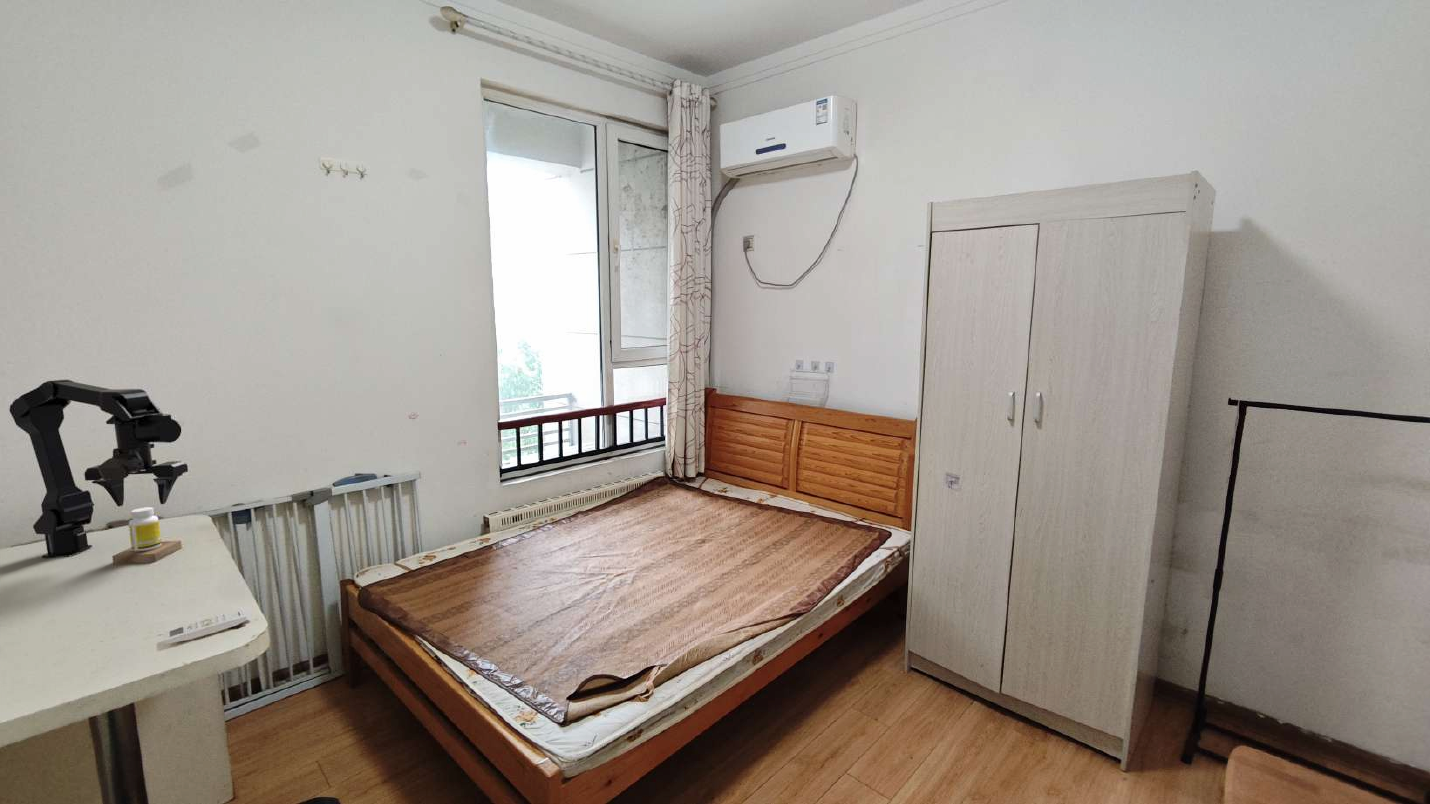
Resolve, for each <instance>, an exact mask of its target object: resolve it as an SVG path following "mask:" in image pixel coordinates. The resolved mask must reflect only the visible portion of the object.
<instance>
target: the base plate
mask: <svg viewBox="0 0 1430 804" xmlns="http://www.w3.org/2000/svg"><path fill="white" fill-rule="evenodd" d="M180 549H182V540H170V541H169V540H167V541H161V546H160V547H158V548H155V549H152V550H147V551H133V550H132V546H130V547H128V548H126V549H125V550H122V551H120V552H118V553H116V554H114V555H112V564H113V565H120V564H121V565H123V564H135V563H137V564H140V563H153V562H154V563H155V562H157V561H160V560H162V559H164V558H166V557H167V556H169V555H172V554H173V553H175V552H177V551H178V550H180ZM159 559H160V560H159Z"/></svg>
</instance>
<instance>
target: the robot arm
mask: <svg viewBox="0 0 1430 804" xmlns="http://www.w3.org/2000/svg"><path fill="white" fill-rule="evenodd" d="M72 402H78V403H81V404H87V405H92V406H95V407H99V409H100V411H101V412H103V413H106V414H109V415H112V416H111V417H110V418H108V419H107V420H106V421H105V423H106V425H114V431H115V439H116V448H113V449H112V450H113V451H112V457H110V458H108V459H107V460H105V461H104V462H102V463H101V464H98V465H95V466H91V467H87V469H86V470H85V471H84V473H83V475H84V480H85V481H86V482H87V481H91V483H92V484H95V485H99V486H101V487H102V488H104V489H105V491H106V492H108V494H109V495H110V497H111V498H112V500H113V502H114V503H115V504H116V506H117V507H123V506H124V500H125V490H124V489H125V479H126V478H128V477H129V475H149V474H150V475H151V474H153V475H154V476H155V477H156V478H153V479H152V480H153V482H155V483H156V485H157V493H158V499H159V500H158V501H159V503H160V505H164V504H166V502H167V501H168V499H169V496H170V494H171V492H172V489H173V488H174V485H175V483H176V481H177V479H178V478H179V477H180V476H181V477H182V476H183V474H185V473H187V472H189V469H188V464H187V463H186V462H185V461H184V460H179V461H178V460H174V461H173V460H171V461H166V462H162V463H160V464H158V463H157V459H152V458H153V456H152V450H151V449H154V448H155V443H159V444H160V443H162V444H163V443H164V444H165V443H166V444H167V443H174V442H176V441H177V440H178V439H179V438H180V437H181V435H182V427H181V425H180V424H179V422H178V421H176V420H175V419H173V418H172V415H171V413H163V412H162V411H161V408H159V407H158V405H156V403H155V402H154V401H153V399H152V398H151V397H150V396H149V395H148V394H147V391H145V390H143V389H142V388H125V389H124V388H121V389H120V388H119V389H115V388H114V389H111V388H106V387H102V386H101V387H100V386H95V385H93V384H92V385H90V384H85V383H80V382H77V381H73V380H71V379H70V380H69V379H58V380H47V381H45V382H43V383H42V384H41V385H39V386H38V387H36V388H34V389H32V390H30V391H27V392H26V393H24V394H22V395H20V396H19V397H18V398H16V399H14V400H13V402H12V403H11V404H10V405H9V414H10V415H11V417H12V418H13V421H14V423H15V425H16V426H17V427H18V428H20V429H21V430H22V431H24V432H25V433H27V435H28V436H29V438H30V441H31V444H32V448H33V451H34V454H35V458H36V460H37V461H36V462H37V464H38V467H39V469H40V470H39V471H40V474H41V477H42V480H43V483H44V486H45V490H46V493H45V494H44V495H45V496H44V498H43V500H42V502H41V505H40V506H41V511H42V514H40V515H41V516H39V518H38V519H37V520H36V521H35V523H34V524H33V525H32V528H33V531H34V532H35V534H36V535H44V539H45V546H46V552H47V553H44V554H42V555H41V558H57V557H58V558H59V557H70V556H69V555H72V556H74V555H76V554H75V553H77V552H79V553H81V552H83V550H84V551H85V549H86V550H88V549H91V548H93V545H92V544H89V543H88V535H87V532H86V531H85V528H84V526H85V525H90V524H91V523H92V517H93V513H94V506H95V504H94V503H95V502H93V500H92V495H91V493H90V491H89V490H82V489H81V488H80V487H78V486H77V485H76V483H75V482H76V481H75V479H74V477H73V473H72V470H71V466H70V463H69V459H68V456H67V452H66V450H65V445H64V443H63V440H62V436H61V432H60V428H61V426H62V424H63V421H64V419H65V413H64V409H66V407H68V406H69V405H70V404H71V403H72ZM90 547H91V548H90ZM87 548H88V549H87ZM73 554H74V555H73ZM77 554H78V553H77Z"/></svg>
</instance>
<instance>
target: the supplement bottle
mask: <svg viewBox="0 0 1430 804" xmlns="http://www.w3.org/2000/svg"><path fill="white" fill-rule="evenodd" d="M130 514H131V517H132V519H130V520H129V522H128V528H129V530H128V531H129V537H130V544H131V545H130V547H132V550H133V551H147V550H152V549H155V548H158V547H160V546H161V542H162V537H161V530H160V529H161V528H160V522H159V517H158V516H157V515H154V507H150V506H148V507H139V508H135V509H133V510H131V511H130Z"/></svg>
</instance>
